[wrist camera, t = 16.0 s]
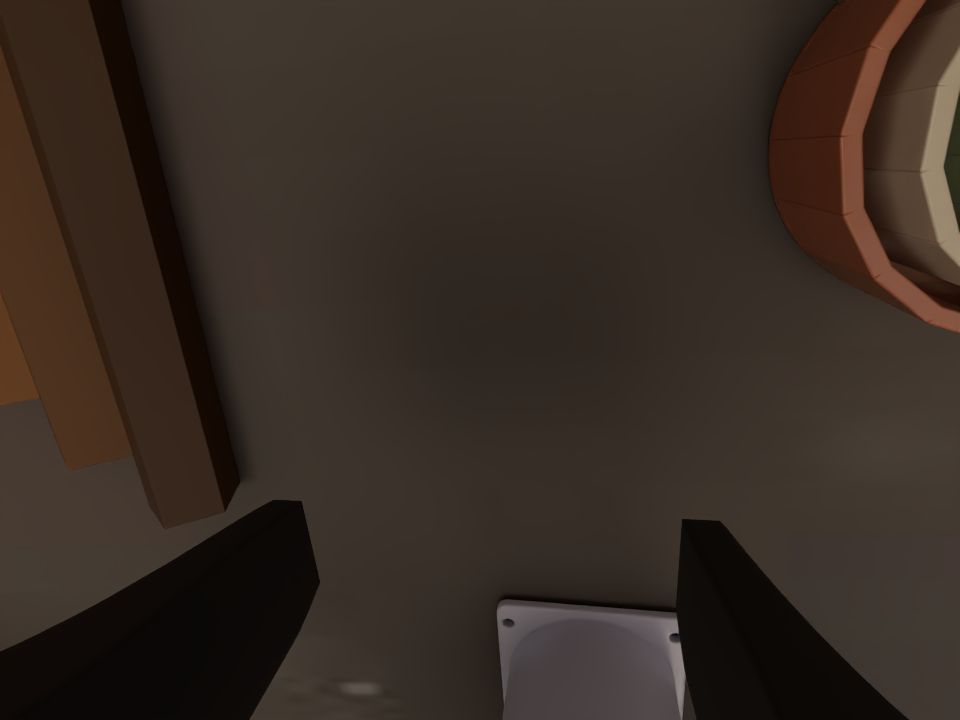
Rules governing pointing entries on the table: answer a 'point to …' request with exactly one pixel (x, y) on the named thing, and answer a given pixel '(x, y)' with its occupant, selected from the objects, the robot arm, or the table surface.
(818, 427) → the table surface
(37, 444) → the table surface
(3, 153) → the pan flute
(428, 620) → the table surface
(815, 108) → the stack base cup
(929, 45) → the stack top cup
